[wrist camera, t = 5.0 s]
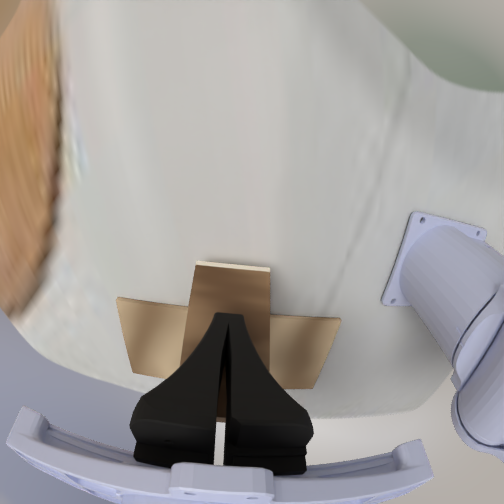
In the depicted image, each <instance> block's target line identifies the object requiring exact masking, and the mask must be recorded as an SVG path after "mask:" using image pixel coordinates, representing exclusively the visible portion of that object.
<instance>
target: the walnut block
mask: <svg viewBox="0 0 504 504" xmlns="http://www.w3.org/2000/svg"><path fill="white" fill-rule="evenodd" d="M216 312H222V313H232V314H242V315H243V316H244V320H245V324H246V327H247V330H248V333H249V336H250V338H251V340H252V343H253V345H254V347H255V349H256V351H257V353H258V355H259V356H260V358H261V360H262V362H263V363H264V365H265V366H266V368H267V369H268V371H269V372H270V268H266V267H256V266H245V265H235V264H225V263H215V262H205V261H196V266H195V272H194V277H193V283H192V289H191V295H190V301H189V307H188V313H187V319H186V326H185V332H184V339H183V346H182V353H181V360H180V366H181V365H182V364H183V363H184V362H185V360H186V359H187V358H188V357H189V356H190V355H191V353H192V352H193V351H194V349H195V348H196V347H197V345H198V344H199V342H200V341H201V339H202V338H203V336H204V335H205V333H206V331H207V330H208V328H209V326H210V324H211V322H212V319H213V317H214V314H215V313H216ZM226 406H227V394H226V371H225V363H224V369H223V374H222V380H221V385H220V391H219V397H218V405H217V419H216V422H225V423H226Z"/></svg>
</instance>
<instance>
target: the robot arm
mask: <svg viewBox="0 0 504 504" xmlns="http://www.w3.org/2000/svg"><path fill="white" fill-rule="evenodd" d="M422 217H423V219H422V221H421V222H420V219H421V218H422ZM486 236H487V230H485V229H484V228H481V227H477V226H474V225H470V224H466V223H463V222H459V221H455V220H451V219H447V218H443V217H439V216H435V215H431V214H427V213H422V212H418V211H415V212H413V213H412V214H411V216H410V219H409V223H408V226H407V229H406V233H405V236H404V239H403V242H402V245H401V248H400V251H399V254H398V257H397V260H396V263H395V265H394V268H393V271H392V274H391V276H390V279H389V282H388V284H387V287H386V289H385V292H384V294H383V297H382V300H381V301H382V303H383V304H384V305H385V306H412V307H413V308H414V310H415V311H416V312H417V314H418V315H419V317H420V318H421V319H422V321H423V322H424V324H425V325H426V327H427V328H428V330H429V331H430V333H431V334H432V335H433V337H434V338H435V340H436V342H437V343H438V345H439V346H440V348H441V349H442V351H443V352H444V354H445V355H446V357H447V359H448V360H449V362H450V363H451V365H452V367H453V368H454V373H453V375H452V377H451V381H452V383H453V384H454V386H455V388H456V389H457V391H456V393H455V395H454V397H453V400H452V404H451V417H452V421H453V425H454V427H455V430H456V432H457V434H458V435H459V437H460V438H461V439H462V441H463V442H464V443H465V444H467V445H468V446H469V447H471V448H472V449H474V450H476V451H479V452H484V453H489V454H491V455H494V456H496V457H497V458H499V459H500V460H501V461H502V462H503V463H504V256H503V255H502V254H500V253H499V252H498V251H497V250H495V249H494V248H493V247H491V246H490V245H489V244H487V243H486V242H485V239H486ZM392 299H393V300H392ZM391 300H392V301H391ZM224 363H225V371H226V394H227V406H226V425H225V443H224V462H223V466H221V465H214V450H215V433H216V419H217V405H218V397H219V391H220V385H221V380H222V374H223V369H224ZM130 429H131V431H132V433H133V435H134V437H135V439H136V441H137V442H136V446H135V451H134V452H131V451H127V450H124V449H120V448H116V447H113V446H109V445H106V444H103V443H100V442H97V441H94V440H91V439H87V438H85V437H82V436H79V435H76V434H74V433H71V432H69V431H66V430H64V429H61V428H59V427H57V426H54V425H52V424H50V423H49V421H48V420H47V419H46V418H45V417H44V416H43V415H42V414H40V413H38V412H36V411H34V410H32V409H30V408H28V407H26V406H22V408H21V410H20V412H19V415H18V417H17V418H16V421H15V423H14V425H13V427H12V429H11V431H10V434H9V436H8V438H7V441H6V444H7V445H8V446H9V447H10V448H11V449H12V450H14V451H15V452H16V453H17V454H18V455H19V456H21V457H22V458H23V459H24V460H26V461H27V462H28V463H29V464H30V465H32V466H34V467H36V468H38V469H39V470H41V471H43V472H45V473H47V474H49V475H51V476H53V477H55V478H57V479H59V480H61V481H63V482H65V483H67V484H69V485H71V486H74V487H76V488H78V489H80V490H83V491H85V492H87V493H90V494H92V495H95V496H97V497H100V498H103V499H106V500H108V501H111V502H114V503H117V504H378V503H381V502H384V501H387V500H390V499H393V498H396V497H399V496H402V495H405V494H407V493H409V492H411V491H412V490H414V489H416V488H418V487H419V486H421V485H423V484H424V483H426V482H427V481H429V480H431V479H432V478H433V477H434V475H433V472H432V469H431V466H430V463H429V460H428V458H427V455H426V452H425V449H424V447H423V444H422V441H421V439H417V440H414V441H410V442H406V443H403V444H401V445H399V446H397V447H396V448H395V449H394V450H393V451H392V452H389V453H385V454H380V455H376V456H371V457H367V458H361V459H356V460H350V461H343V462H337V463H329V464H320V465H310V466H306V459H305V455H306V454H307V451H306V445H307V444H308V442H309V441H310V439H311V438H312V437H313V434H314V432H313V426H312V423H311V420H310V417H309V415H308V412H307V410H305V409H304V408H303V407H302V406H300V405H299V404H298V403H297V402H296V401H295V400H294V399H293V398H292V397H291V396H290V395H288V394H287V393H286V391H285V390H284V389H283V388H282V387H281V386H280V385H279V384H278V382H277V381H276V380H275V379H274V378H273V376H272V375H271V374H270V372H269V371H268V369H267V368H266V366H265V365H264V363H263V362H262V360H261V358H260V356H259V355H258V353H257V351H256V349H255V347H254V345H253V343H252V340H251V338H250V336H249V333H248V330H247V327H246V324H245V320H244V316H243V315H242V314H232V313H222V312H216V313H215V314H214V317H213V319H212V322H211V324H210V326H209V328H208V330H207V331H206V333H205V335H204V336H203V338H202V339H201V341H200V342H199V344H198V345H197V347H196V348H195V349H194V351H193V352H192V353H191V355H190V356H189V357H188V358H187V359H186V360H185V362H184V363H183V364H182V365H181V366H180V367H179V368H178V369H177V370H176V371H175V372H174V373H173V374H172V375H170V376H169V377H168V378H167V379H166V380H164V381H163V382H162V383H161V384H159V385H158V386H157V387H155V388H154V389H152V390H151V391H149V392H148V393H146V394H145V395H143V396H142V397H141V398H140V400H139V402H138V403H137V405H136V407H135V409H134V411H133V414H132V418H131V421H130Z"/></svg>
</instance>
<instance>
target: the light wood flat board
mask: <svg viewBox="0 0 504 504" xmlns="http://www.w3.org/2000/svg"><path fill="white" fill-rule="evenodd" d="M116 302H117V308H118V313H119V318H120V322H121V327H122V332H123V336H124V340H125V345H126V349H127V353H128V356H129V360H130V364H131V368H132V371H133V373H137V374H142V375H147V376H153V377H158V378H164V379H167V378H168V377H169V376H170V375H172V374H173V373H174V372H175V371H176V370H177V369H178V368H179V367H180V360H181V353H182V346H183V339H184V332H185V326H186V319H187V313H188V307H186V306H177V305H169V304H162V303H154V302H147V301H140V300H134V299H127V298H121V297H118V298H117V299H116ZM340 324H341V319H340V318H325V317H302V316H285V315H270V374H271V375H272V376H273V378H274V379H275V380H276V381H277V382H278V384H279V385H280V386H281V387H282V388H283V389H313V387H314V384H315V382H316V380H317V378H318V376H319V374H320V371H321V369H322V367H323V365H324V362H325V360H326V358H327V355H328V353H329V351H330V348H331V346H332V344H333V341H334V339H335V336H336V334H337V331H338V329H339V326H340Z"/></svg>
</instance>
